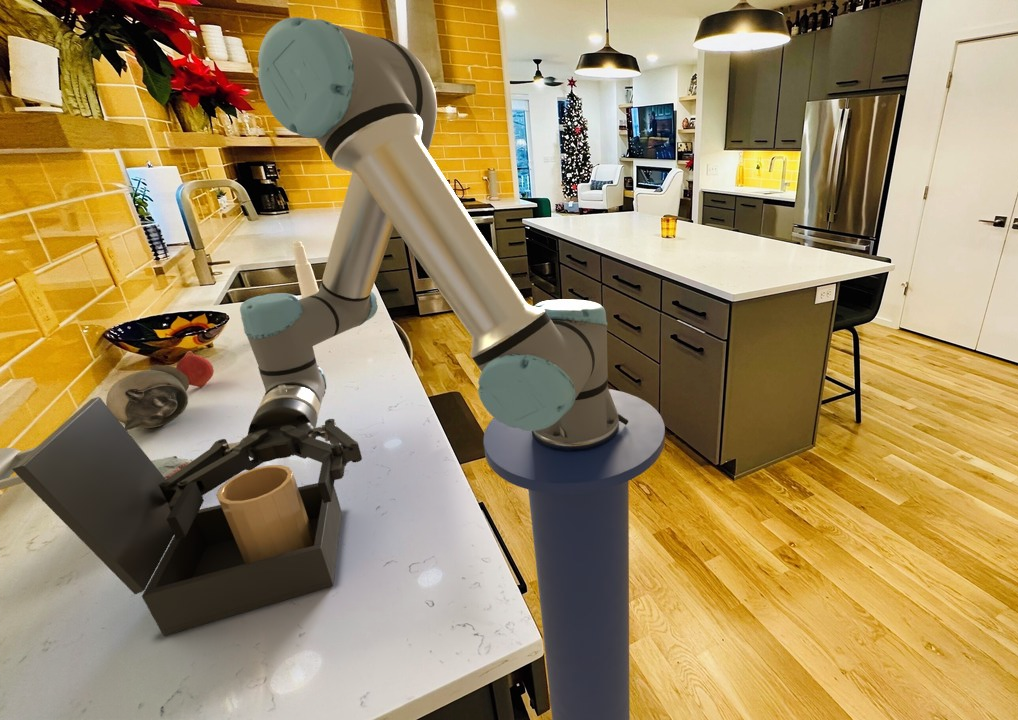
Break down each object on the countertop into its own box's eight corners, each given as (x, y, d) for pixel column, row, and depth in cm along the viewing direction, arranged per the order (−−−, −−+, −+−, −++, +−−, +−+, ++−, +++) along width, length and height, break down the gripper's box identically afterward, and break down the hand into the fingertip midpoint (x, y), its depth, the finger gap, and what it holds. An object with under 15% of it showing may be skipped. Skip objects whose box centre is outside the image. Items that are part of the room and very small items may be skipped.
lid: (99, 396, 53) (-5, 426, 51) (22, 465, 42) (-117, 508, 40) (189, 507, 61) (102, 539, 59) (144, 591, 50) (34, 634, 47)
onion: (184, 395, 101) (169, 359, 98) (182, 386, 105) (168, 351, 102) (220, 387, 105) (206, 352, 101) (217, 378, 108) (204, 344, 105)
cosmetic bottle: (333, 315, 147) (314, 240, 139) (322, 322, 142) (302, 244, 133) (311, 315, 147) (291, 240, 138) (300, 322, 141) (278, 244, 133)
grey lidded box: (342, 513, 70) (332, 479, 67) (333, 585, 58) (320, 548, 56) (203, 548, 64) (186, 512, 61) (163, 636, 52) (141, 596, 50)
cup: (319, 529, 66) (296, 459, 61) (312, 566, 60) (286, 493, 55) (255, 545, 63) (226, 473, 59) (241, 586, 57) (208, 510, 53)
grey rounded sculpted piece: (208, 403, 98) (189, 354, 94) (181, 434, 88) (158, 381, 84) (144, 411, 95) (122, 362, 91) (108, 444, 85) (81, 390, 81)
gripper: (167, 415, 66) (87, 515, 48) (375, 380, 76) (372, 453, 58) (188, 462, 69) (120, 573, 51) (386, 423, 79) (385, 504, 61)
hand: (253, 510), depth 55 cm, fingers open, 13 cm apart
